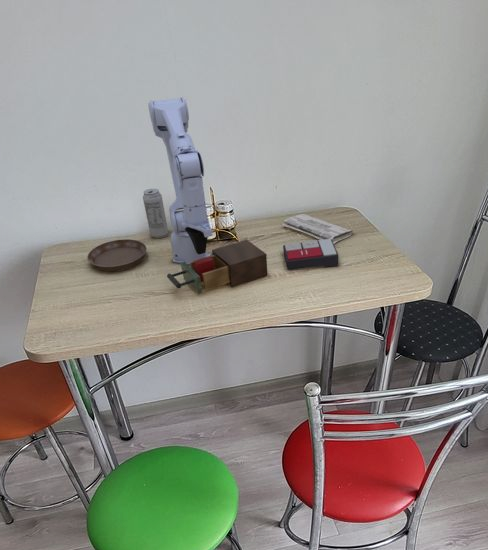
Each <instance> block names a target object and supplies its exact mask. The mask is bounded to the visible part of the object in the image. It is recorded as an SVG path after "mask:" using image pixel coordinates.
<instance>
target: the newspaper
mask: <svg viewBox="0 0 488 550" xmlns="http://www.w3.org/2000/svg"><path fill="white" fill-rule="evenodd" d="M281 226H283V227H287V228H289V229H292V230H295V231H299V232H301V233H303V234H306V235H309V236H311V237H313V238H316V240H324V239H332V241H333V244H334V245H335V244H336V243H337V242H339V241H342V240H344V239H347V238H349V237H351V235H352V234H353V233H354V230H351V229H349V228H346V227H343V226H340V225H337V224H334V223H331V222H329V221H326V220H323V219H320V218H317V217H314V216H311V215H310V214H309V215H308V214H306V213H301V214H296V215H293V216H291V217H288V218H285V219H284V220H283V223H282V224H281Z"/></svg>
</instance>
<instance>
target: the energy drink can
mask: <svg viewBox="0 0 488 550" xmlns="http://www.w3.org/2000/svg"><path fill="white" fill-rule="evenodd" d="M142 200H143V206H144V210H145V216H146V220H147V225H148V229H149V234H150V236H152V238H154V239H163V238H166V237H167V236H168V234H169V227H168V222H167V217H166V216H167V215H166V211H165V206H164V200H163V195H162V194H161V192H160V190H159V189H158V188H148V189H146V190H143V196H142Z"/></svg>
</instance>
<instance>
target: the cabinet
mask: <svg viewBox="0 0 488 550" xmlns="http://www.w3.org/2000/svg"><path fill="white" fill-rule="evenodd" d="M211 255H216V256H217V257H219V258H220V259H221V260H222V261H223V262H224V263H226V264H227V265H228V266H229V269H230V279H231V282H229V283H227V284H228V285H229V286H230V287H231V288H236V287H238V286H241V285H244V284H247V283H250V282H254V281H256V280H259V279H262V278H265V277H268V258H267V253H266V252H264V251H263V250H262V249H260V248H259V247H258V246H257V245H255V244H253V243H252V242H251V241H249V240H248V239H244V240H241V241H237V242H234V243H231V244H227V245H224V246H220V247H217V248H213V249H211Z"/></svg>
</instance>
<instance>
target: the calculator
mask: <svg viewBox="0 0 488 550" xmlns="http://www.w3.org/2000/svg"><path fill="white" fill-rule="evenodd" d="M282 249H283V256H284V261H285V265H286V270H287V271H294V270H302V269H311V268H317V267H318V268H319V267H323V268H333V267H338V266H339V253H338V251H337V248H336V246H335V243H334V244H333V241H332V239H324V240H320V239H312V240H305V241H297V242H289V243H287V242H286V243H284V244H283V245H282Z"/></svg>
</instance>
